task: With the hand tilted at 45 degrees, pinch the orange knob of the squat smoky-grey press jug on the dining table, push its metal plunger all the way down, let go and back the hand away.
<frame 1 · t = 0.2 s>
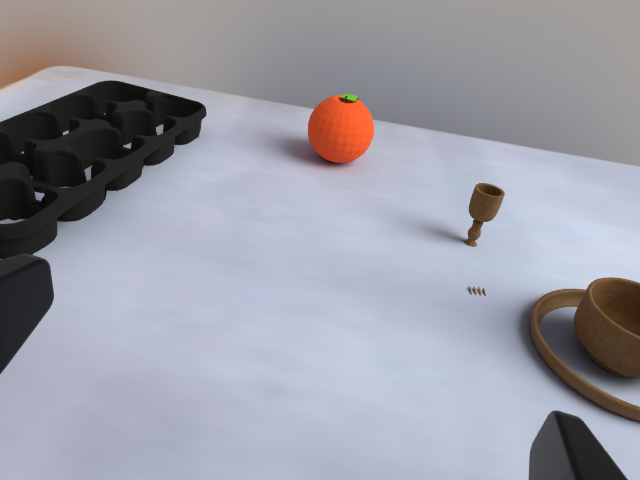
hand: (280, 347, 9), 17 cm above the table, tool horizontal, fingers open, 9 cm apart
place setting: (581, 324, 40), on the table
egg carton: (78, 172, 47), on the table
clementine: (336, 159, 57), on the table
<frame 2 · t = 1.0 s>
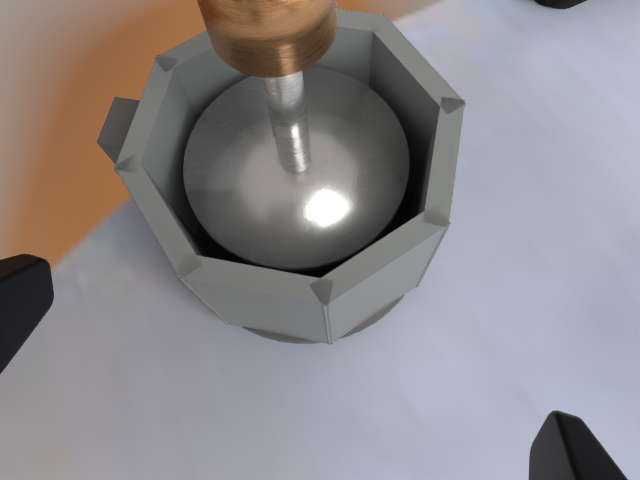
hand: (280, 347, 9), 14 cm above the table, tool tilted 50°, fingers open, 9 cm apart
press jug: (306, 223, 25), on the table
plunger: (282, 80, 15), point 11 cm above the table, slide at 4.5 cm
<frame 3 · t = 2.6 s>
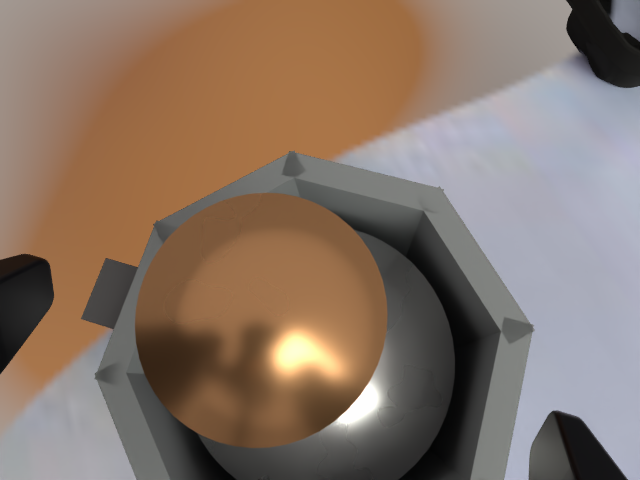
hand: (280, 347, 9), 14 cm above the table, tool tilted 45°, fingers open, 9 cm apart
press jug: (326, 364, 22), on the table
plunger: (300, 344, 12), point 11 cm above the table, slide at 4.5 cm
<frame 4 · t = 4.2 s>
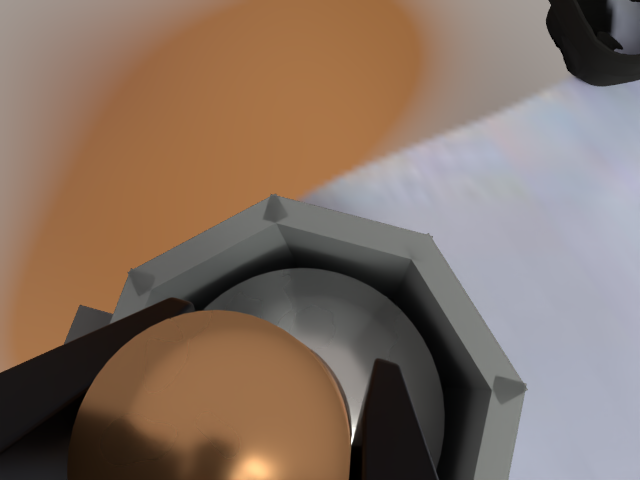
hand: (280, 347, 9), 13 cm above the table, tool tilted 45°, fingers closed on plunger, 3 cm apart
press jug: (315, 400, 21), on the table
plunger: (275, 419, 11), point 11 cm above the table, slide at 4.5 cm, touching gripper
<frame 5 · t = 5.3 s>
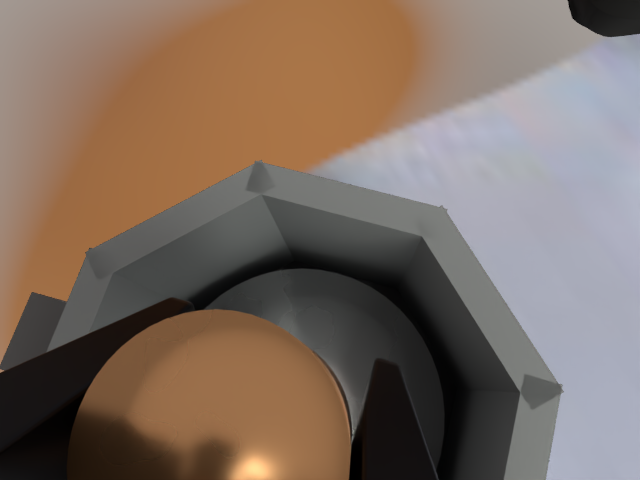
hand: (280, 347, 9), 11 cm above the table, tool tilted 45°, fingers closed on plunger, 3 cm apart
press jug: (310, 403, 19), on the table
plunger: (275, 420, 11), point 8 cm above the table, slide at 2.1 cm, touching gripper
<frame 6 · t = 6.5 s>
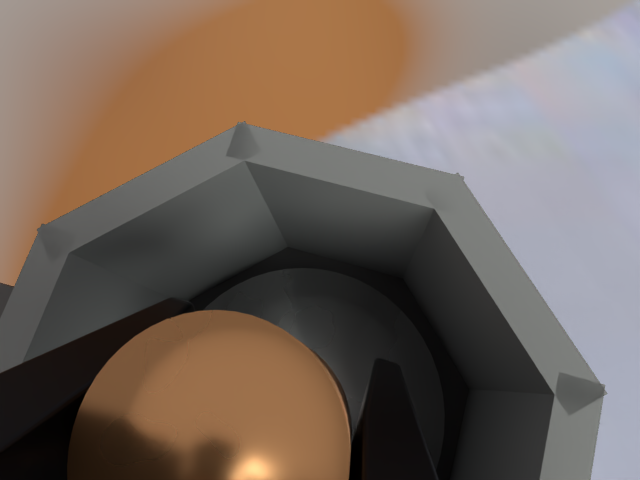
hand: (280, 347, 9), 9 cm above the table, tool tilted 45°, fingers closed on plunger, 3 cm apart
press jug: (305, 405, 17), on the table
plunger: (275, 419, 11), point 6 cm above the table, slide at 0.1 cm, touching gripper
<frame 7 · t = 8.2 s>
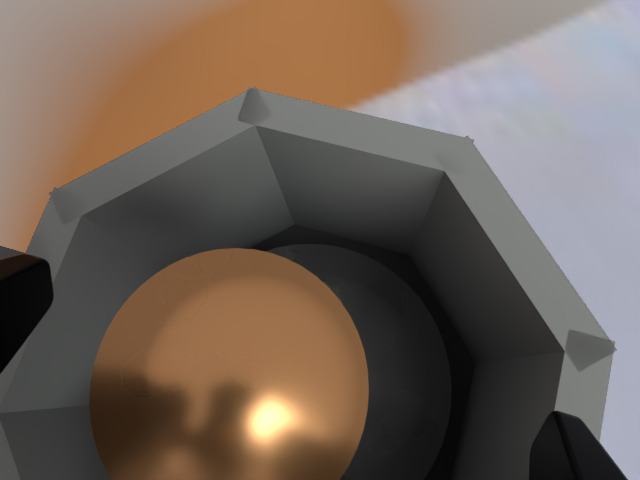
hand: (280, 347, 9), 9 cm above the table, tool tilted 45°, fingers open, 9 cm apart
press jug: (311, 381, 17), on the table
plunger: (286, 382, 11), point 6 cm above the table, slide at 0.1 cm
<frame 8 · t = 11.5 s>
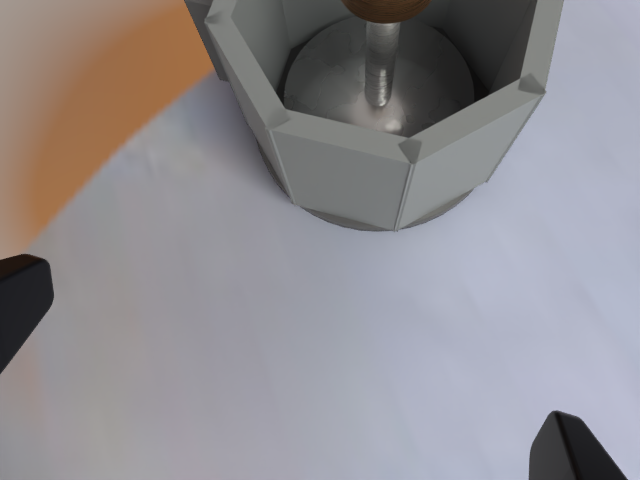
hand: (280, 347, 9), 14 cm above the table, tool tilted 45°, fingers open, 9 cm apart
press jug: (376, 115, 25), on the table
plunger: (383, 26, 19), point 6 cm above the table, slide at 0.1 cm
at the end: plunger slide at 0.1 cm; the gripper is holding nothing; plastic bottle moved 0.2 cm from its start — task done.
